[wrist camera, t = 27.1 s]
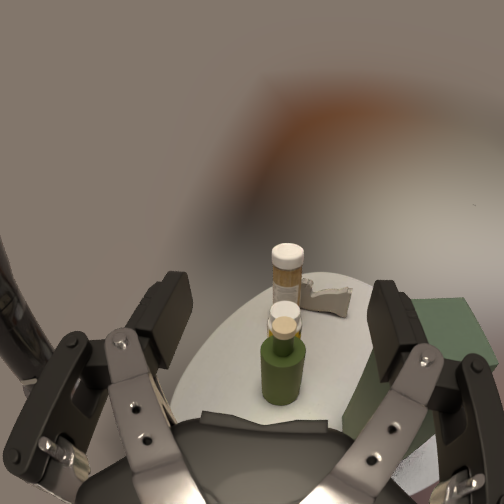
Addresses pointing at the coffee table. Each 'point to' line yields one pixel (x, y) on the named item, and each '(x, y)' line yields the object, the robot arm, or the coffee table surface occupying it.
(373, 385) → the pedestal
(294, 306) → the supplement bottle
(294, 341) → the olive bottle
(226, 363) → the coffee table surface
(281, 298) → the sprinkles bottle
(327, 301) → the grey tape dispenser
